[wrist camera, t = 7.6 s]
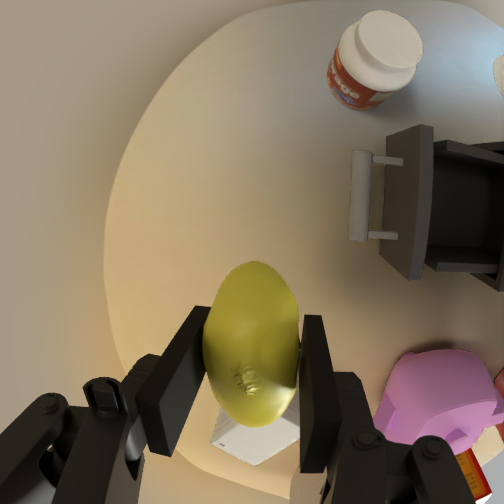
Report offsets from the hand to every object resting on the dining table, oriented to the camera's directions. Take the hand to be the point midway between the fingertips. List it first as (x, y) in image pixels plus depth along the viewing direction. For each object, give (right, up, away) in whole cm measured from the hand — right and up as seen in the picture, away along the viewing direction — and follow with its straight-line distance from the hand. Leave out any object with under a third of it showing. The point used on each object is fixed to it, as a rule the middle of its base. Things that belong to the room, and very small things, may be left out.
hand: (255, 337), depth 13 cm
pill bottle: (+10, +20, +11) cm, 25 cm away
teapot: (+21, -12, +18) cm, 31 cm away
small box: (+1, -10, +20) cm, 22 cm away
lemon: (0, 0, +1) cm, 1 cm away
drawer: (+17, +9, +12) cm, 23 cm away
